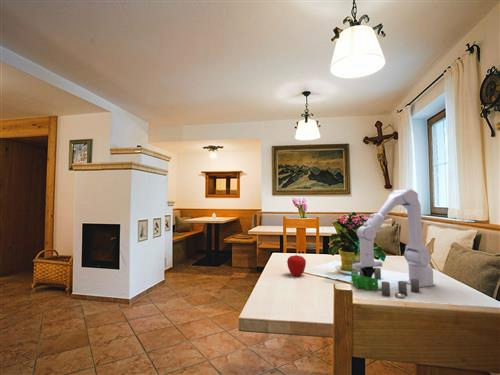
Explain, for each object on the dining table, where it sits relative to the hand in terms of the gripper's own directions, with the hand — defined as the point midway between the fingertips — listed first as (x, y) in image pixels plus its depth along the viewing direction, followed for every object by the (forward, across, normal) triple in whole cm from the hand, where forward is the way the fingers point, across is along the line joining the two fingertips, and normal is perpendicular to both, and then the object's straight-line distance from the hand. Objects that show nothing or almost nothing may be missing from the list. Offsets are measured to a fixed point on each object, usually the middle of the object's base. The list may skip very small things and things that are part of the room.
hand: (368, 284), depth 118 cm
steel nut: (+2, -4, +14) cm, 14 cm away
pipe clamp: (+1, +2, 0) cm, 3 cm away
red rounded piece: (+2, +21, -28) cm, 35 cm away
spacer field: (+2, -8, +1) cm, 8 cm away
